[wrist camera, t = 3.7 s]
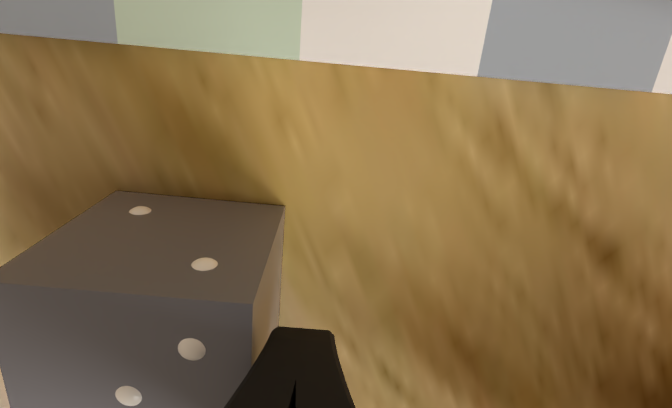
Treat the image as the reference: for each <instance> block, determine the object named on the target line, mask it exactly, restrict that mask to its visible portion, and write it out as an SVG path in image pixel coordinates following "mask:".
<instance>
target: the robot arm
mask: <svg viewBox="0 0 672 408" xmlns="http://www.w3.org/2000/svg"><path fill="white" fill-rule="evenodd" d="M224 408H355V405H354V403H353V400H352V398H351V395H350V392H349V390H348V387H347V384H346V381H345V378H344V375H343V372H342V368H341V365H340V362H339V358H338V354H337V350H336V345H335V338H334V335H333V334H332V333H331V332H330V331H329V330H316V329H302V328H289V327H276V328H275V329H274V330H272V331H271V334H270V336H269V338H268V340H267V342H266V344H265V345H264V347H263V349H262V351H261V353H260V354H259V356H258V358H257V359H256V361H255V362H254V364H253V366H252V367H251V369H250V370H249V372H248V374H247V375H246V377H245V378H244V379H243V381H242V382H241V384H240V385H239V387H238V388H237V389H236V391H235V392H234V394H233V395H232V397H231V398H230V400H229V401H228V402H227V404H226V405H225V407H224Z"/></svg>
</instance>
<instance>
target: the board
mask: <svg viewBox="0 0 672 408" xmlns="http://www.w3.org/2000/svg"><path fill="white" fill-rule="evenodd" d="M0 33H4V34H15V35H26V36H37V37H48V38H59V39H70V40H81V41H92V42H103V43H114V44H125V45H136V46H147V47H158V48H169V49H180V50H191V51H202V52H213V53H224V54H235V55H246V56H257V57H268V58H279V59H290V60H301V61H312V62H323V63H334V64H345V65H356V66H367V67H378V68H389V69H400V70H411V71H422V72H433V73H444V74H455V75H466V76H477V77H488V78H499V79H510V80H521V81H532V82H544V83H555V84H566V85H577V86H588V87H599V88H610V89H621V90H632V91H643V92H654V93H665V94H672V0H0Z"/></svg>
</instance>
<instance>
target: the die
mask: <svg viewBox="0 0 672 408" xmlns="http://www.w3.org/2000/svg"><path fill="white" fill-rule="evenodd" d="M284 219H285V206H278V205H267V204H256V203H245V202H234V201H223V200H212V199H201V198H190V197H179V196H168V195H157V194H146V193H135V192H124V191H115V192H113V193H112V194H110V195H109V196H107V197H106V198H104V199H103V200H101V201H100V202H98V203H97V204H95V205H94V206H92V207H91V208H89V209H88V210H86V211H85V212H83V213H82V214H80V215H79V216H77V217H76V218H74V219H73V220H71V221H70V222H68V223H66V224H65V225H63V226H62V227H60V228H59V229H57V230H56V231H54V232H53V233H51V234H50V235H48V236H47V237H45V238H44V239H42V240H41V241H39V242H38V243H36V244H35V245H33V246H32V247H30V248H29V249H27V250H26V251H24V252H23V253H21V254H19V255H18V256H16V257H15V258H13V259H12V260H10V261H9V262H7V263H6V264H4V265H3V266H1V267H0V368H1V372H2V376H3V380H4V384H5V388H6V392H7V396H8V400H9V404H10V408H224V407H225V405H226V404H227V402H228V401H229V400H230V398H231V397H232V395H233V394H234V392H235V391H236V389H237V388H238V387H239V385H240V384H241V382H242V381H243V379H244V378H245V377H246V375H247V374H248V372H249V370H250V369H251V367H252V366H253V364H254V362H255V361H256V359H257V358H258V356H259V354H260V353H261V351H262V349H263V347H264V345H265V344H266V342H267V340H268V338H269V336H270V334H271V331H272V330H274V329H275V328H276V327H279V309H280V291H281V273H282V255H283V237H284Z"/></svg>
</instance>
